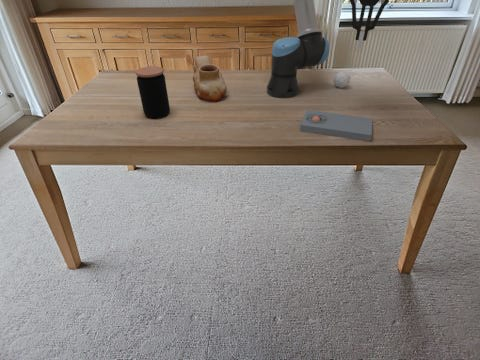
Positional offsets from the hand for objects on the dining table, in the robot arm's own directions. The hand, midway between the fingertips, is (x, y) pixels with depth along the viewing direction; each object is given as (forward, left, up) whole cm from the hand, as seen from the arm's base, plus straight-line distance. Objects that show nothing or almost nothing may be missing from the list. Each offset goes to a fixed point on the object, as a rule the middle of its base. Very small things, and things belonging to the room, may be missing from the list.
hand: (358, 49), depth 114 cm
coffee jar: (-74, -28, -25) cm, 83 cm away
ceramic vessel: (-63, +1, -25) cm, 68 cm away
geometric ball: (-4, +27, -25) cm, 37 cm away
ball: (-10, -17, -23) cm, 30 cm away
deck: (-2, -17, -24) cm, 30 cm away
